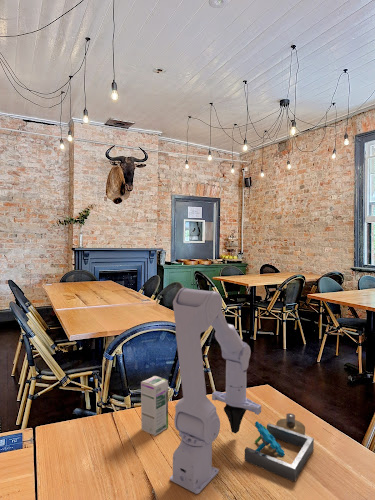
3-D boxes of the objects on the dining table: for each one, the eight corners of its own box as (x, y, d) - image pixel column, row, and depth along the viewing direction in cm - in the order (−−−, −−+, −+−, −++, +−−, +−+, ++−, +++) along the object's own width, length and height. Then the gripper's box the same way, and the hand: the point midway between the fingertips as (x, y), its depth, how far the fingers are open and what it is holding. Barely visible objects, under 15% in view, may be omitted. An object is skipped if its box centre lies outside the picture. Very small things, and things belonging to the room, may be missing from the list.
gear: (291, 459, 85) (261, 428, 86) (274, 477, 84) (245, 446, 85) (280, 440, 96) (255, 412, 97) (265, 455, 95) (240, 428, 96)
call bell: (299, 443, 94) (300, 425, 94) (272, 434, 99) (272, 416, 99) (308, 430, 101) (308, 414, 100) (282, 422, 105) (282, 406, 105)
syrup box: (155, 436, 97) (155, 386, 96) (140, 429, 100) (140, 380, 100) (168, 428, 101) (168, 379, 101) (153, 421, 105) (154, 374, 105)
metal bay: (294, 481, 79) (294, 469, 79) (244, 461, 87) (244, 449, 86) (313, 449, 92) (313, 438, 92) (268, 433, 99) (268, 423, 99)
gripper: (266, 385, 95) (265, 433, 96) (220, 373, 104) (220, 417, 104) (255, 394, 89) (254, 445, 90) (208, 380, 98) (207, 427, 98)
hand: (235, 431), depth 97 cm, fingers closed
